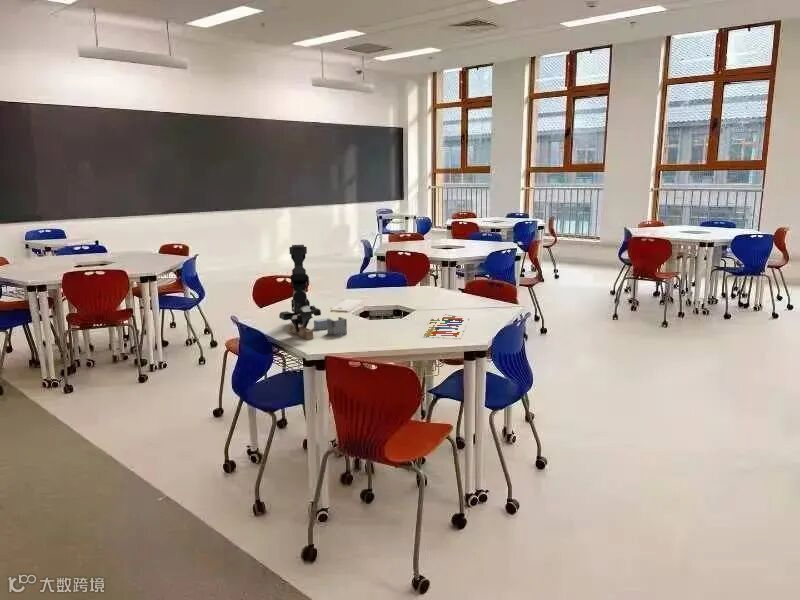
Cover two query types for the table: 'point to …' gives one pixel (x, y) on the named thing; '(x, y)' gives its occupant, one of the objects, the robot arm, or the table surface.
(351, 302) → the baseboard
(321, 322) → the support post
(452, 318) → the multicolored flat board
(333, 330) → the cup bracket
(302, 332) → the rail
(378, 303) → the table surface
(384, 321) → the table surface
